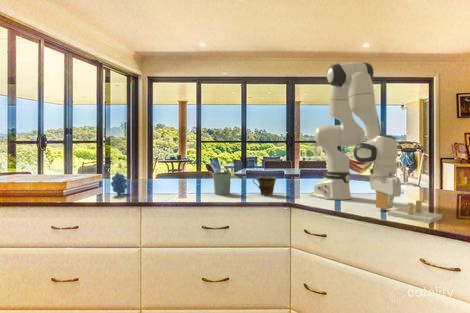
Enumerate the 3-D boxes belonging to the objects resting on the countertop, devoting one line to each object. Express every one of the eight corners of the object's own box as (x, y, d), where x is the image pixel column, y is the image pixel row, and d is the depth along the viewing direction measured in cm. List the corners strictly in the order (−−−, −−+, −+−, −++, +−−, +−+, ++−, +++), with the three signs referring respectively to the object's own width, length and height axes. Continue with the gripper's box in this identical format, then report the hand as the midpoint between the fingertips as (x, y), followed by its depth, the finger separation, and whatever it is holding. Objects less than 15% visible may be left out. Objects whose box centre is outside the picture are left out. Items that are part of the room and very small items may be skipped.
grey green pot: (230, 195, 176) (230, 173, 175) (212, 195, 176) (212, 173, 175) (230, 192, 186) (231, 172, 185) (213, 192, 186) (213, 171, 185)
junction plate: (387, 215, 132) (388, 200, 131) (400, 211, 139) (401, 197, 139) (430, 223, 119) (431, 207, 119) (441, 218, 127) (442, 203, 126)
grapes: (117, 196, 168) (117, 174, 167) (108, 196, 170) (107, 173, 170) (132, 193, 178) (132, 172, 178) (123, 192, 181) (123, 171, 180)
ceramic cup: (275, 193, 183) (275, 176, 182) (276, 196, 173) (276, 178, 172) (252, 193, 184) (253, 175, 183) (252, 196, 174) (252, 178, 173)
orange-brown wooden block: (375, 207, 140) (376, 193, 140) (381, 205, 144) (381, 192, 143) (387, 209, 137) (387, 195, 136) (392, 207, 140) (393, 193, 139)
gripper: (406, 174, 129) (404, 208, 130) (381, 169, 149) (379, 198, 150) (390, 174, 128) (389, 208, 129) (367, 169, 149) (366, 198, 150)
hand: (384, 202), depth 140 cm, fingers closed on orange-brown wooden block, 7 cm apart
